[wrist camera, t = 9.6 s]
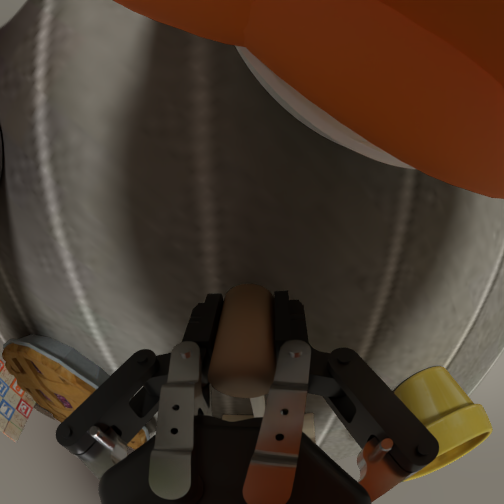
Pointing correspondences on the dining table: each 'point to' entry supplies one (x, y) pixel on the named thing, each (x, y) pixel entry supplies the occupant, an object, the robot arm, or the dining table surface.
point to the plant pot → (444, 415)
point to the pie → (56, 376)
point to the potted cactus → (374, 74)
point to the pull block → (245, 346)
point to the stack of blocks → (13, 405)
